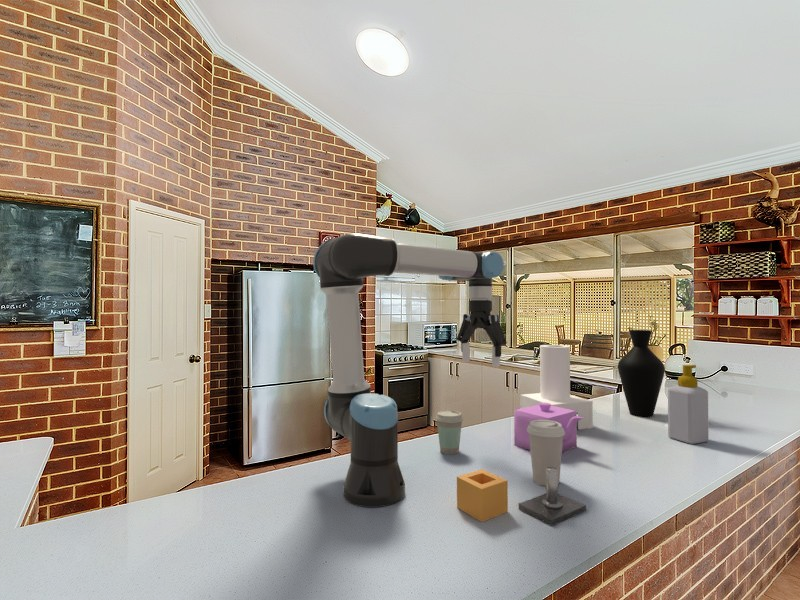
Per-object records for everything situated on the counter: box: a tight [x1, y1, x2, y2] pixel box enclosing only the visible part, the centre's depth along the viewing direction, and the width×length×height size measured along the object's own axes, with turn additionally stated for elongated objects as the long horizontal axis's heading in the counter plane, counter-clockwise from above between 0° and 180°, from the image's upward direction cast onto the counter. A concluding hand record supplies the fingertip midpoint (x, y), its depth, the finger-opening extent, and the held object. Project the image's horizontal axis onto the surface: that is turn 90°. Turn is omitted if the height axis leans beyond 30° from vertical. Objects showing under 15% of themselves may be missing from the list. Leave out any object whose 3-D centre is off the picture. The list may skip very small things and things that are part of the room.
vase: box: [617, 329, 666, 418], centre depth 180 cm, size 17×17×35 cm
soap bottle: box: [667, 364, 709, 445], centre depth 147 cm, size 9×9×25 cm
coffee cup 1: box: [435, 409, 464, 455], centre depth 137 cm, size 9×8×12 cm
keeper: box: [518, 467, 587, 527], centre depth 98 cm, size 12×9×9 cm
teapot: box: [513, 403, 584, 452], centre depth 141 cm, size 15×25×14 cm, turn 36°
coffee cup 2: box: [527, 420, 565, 487], centre depth 114 cm, size 10×10×15 cm
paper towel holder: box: [519, 344, 594, 430], centre depth 168 cm, size 19×19×30 cm
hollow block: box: [456, 468, 509, 522], centre depth 98 cm, size 8×8×7 cm
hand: (480, 364), depth 142 cm, fingers open, 13 cm apart
